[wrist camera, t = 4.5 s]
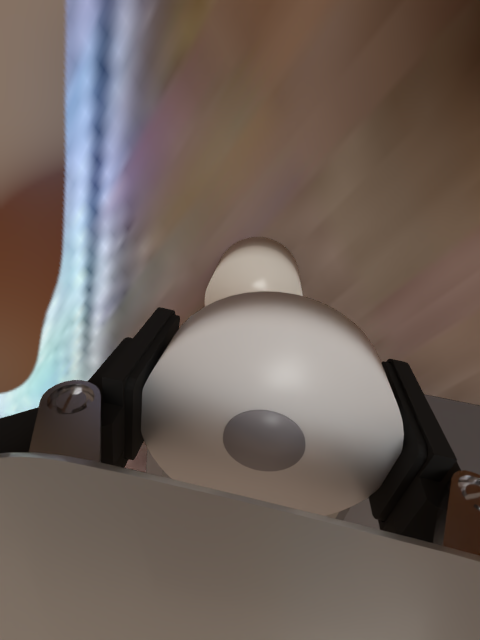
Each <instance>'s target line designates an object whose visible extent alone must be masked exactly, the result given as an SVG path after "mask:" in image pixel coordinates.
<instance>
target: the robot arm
mask: <svg viewBox="0 0 480 640" xmlns="http://www.w3.org/2000/svg"><path fill="white" fill-rule="evenodd" d="M179 322H180V317H179V316H177V315H175V311H173V310H169V309H164V308H160V307H159V308H157V310H156V311H155V312H154V313H153V315H152V316H151V317H150V318H149V319H148V321H147V322H146V323H145V324H144V326H143V327H142V328H141V329H140V331H139V332H138V333H137V334H136V335H135V337H134V338H129V337H127V338H125V339H124V340H123V341H122V342H121V343H120V344H119V346H118V347H117V348H116V349H115V350H114V351H113V353H112V354H111V355H110V356H109V357H108V358H107V360H106V361H105V362H104V363H103V364H102V365H101V367H100V368H99V369H98V370H97V371H96V372H95V374H94V375H93V376H92V377H91V378H90V379H89V381H88V382H87V381H82V380H72V381H66V382H63V383H60V384H57V385H55V386H53V387H52V388H50V389H48V390H47V391H46V392H45V393H44V394H43V396H42V398H41V400H40V404H39V407H38V408H35V409H31V410H28V411H25V412H21V413H18V414H14V415H11V416H7V417H4V418H1V419H0V640H480V475H479V474H476V473H474V472H470V471H466V470H463V471H461V469H460V467H459V465H458V463H457V458H456V456H455V454H454V452H453V450H452V448H451V446H450V444H449V443H448V441H447V439H446V437H445V435H444V433H443V431H442V429H441V427H440V425H439V423H438V421H437V419H436V417H435V415H434V413H433V411H432V409H431V407H430V405H429V403H428V401H427V399H426V397H425V395H424V394H423V392H422V390H421V388H420V386H419V384H418V382H417V380H416V378H415V376H414V374H413V372H412V370H411V368H410V366H409V364H408V363H406V362H402V361H398V360H393V359H388V360H387V362H382V366H383V368H384V371H385V374H386V376H387V379H388V381H389V384H390V386H391V389H392V392H393V394H394V397H395V399H396V402H397V405H398V407H399V411H400V414H401V417H402V421H403V431H404V438H403V448H402V451H401V454H400V455H399V457H398V459H397V460H396V462H395V463H394V465H393V467H392V468H391V470H390V472H389V473H388V475H387V476H386V478H385V480H384V481H383V483H382V485H381V486H380V488H379V489H378V490H377V491H376V492H374V493H373V494H371V495H370V496H369V502H370V506H371V511H372V515H373V517H374V518H375V519H377V520H378V523H379V527H380V530H379V529H375V528H371V527H367V526H363V525H359V524H355V523H351V522H347V521H343V520H339V519H335V518H331V517H327V516H323V515H318V514H314V513H310V512H306V511H302V510H298V509H294V508H290V507H286V506H282V505H278V504H274V503H270V502H265V501H261V500H257V499H253V498H249V497H245V496H241V495H237V494H233V493H228V492H224V491H220V490H216V489H212V488H208V487H203V486H199V485H195V484H191V483H187V482H182V481H178V480H174V479H170V478H166V477H161V476H157V475H153V474H149V473H145V472H140V471H136V470H131V469H127V468H124V467H125V465H126V463H127V461H128V459H131V460H134V459H135V457H136V455H137V453H138V451H139V449H140V447H141V445H142V443H143V441H144V439H143V436H142V433H141V414H142V390H143V387H144V385H145V383H146V381H147V379H148V377H149V375H150V374H151V372H152V370H153V369H154V367H155V366H156V364H157V362H158V361H159V359H160V358H161V356H162V354H163V353H164V351H165V349H166V348H167V346H168V345H169V343H170V341H171V340H172V338H173V337H174V335H175V334H176V332H177V331H178V330H179Z"/></svg>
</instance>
